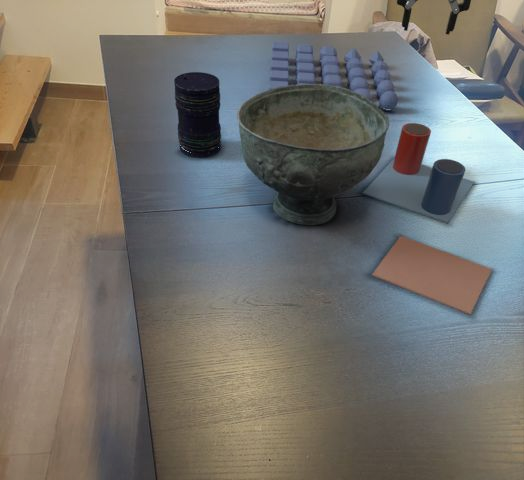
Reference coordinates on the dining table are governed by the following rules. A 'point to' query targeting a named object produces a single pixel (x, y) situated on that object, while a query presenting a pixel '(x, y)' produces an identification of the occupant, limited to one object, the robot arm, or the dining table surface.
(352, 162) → the decorative bowl
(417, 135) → the red pot
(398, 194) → the blue mat
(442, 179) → the blue pot
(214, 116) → the storage jar
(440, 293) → the rose mat
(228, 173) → the dining table surface
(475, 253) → the dining table surface
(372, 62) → the blocks
